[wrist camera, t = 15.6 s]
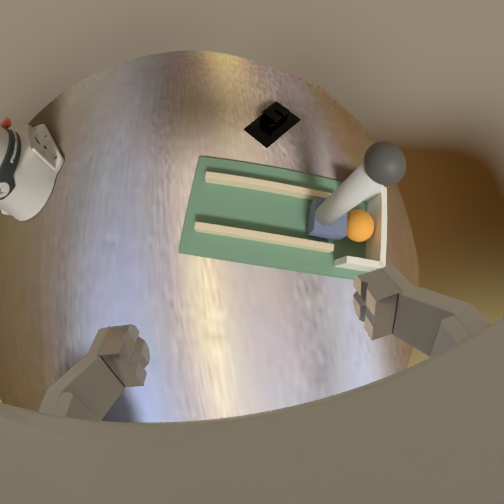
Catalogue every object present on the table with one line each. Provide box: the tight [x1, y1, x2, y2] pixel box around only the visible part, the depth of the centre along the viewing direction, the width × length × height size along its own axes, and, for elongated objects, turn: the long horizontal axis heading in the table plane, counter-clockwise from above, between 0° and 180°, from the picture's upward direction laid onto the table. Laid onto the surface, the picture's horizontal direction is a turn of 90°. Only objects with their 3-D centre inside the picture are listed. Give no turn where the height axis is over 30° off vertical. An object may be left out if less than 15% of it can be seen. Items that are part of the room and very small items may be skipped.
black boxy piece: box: [244, 101, 300, 148], centre depth 43 cm, size 12×7×5 cm, turn 137°
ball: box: [346, 209, 374, 242], centre depth 40 cm, size 5×5×5 cm
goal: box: [194, 171, 387, 272], centre depth 39 cm, size 28×13×5 cm, turn 82°
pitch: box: [179, 156, 367, 280], centre depth 42 cm, size 31×16×1 cm, turn 82°
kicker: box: [307, 142, 406, 241], centre depth 30 cm, size 6×5×22 cm
